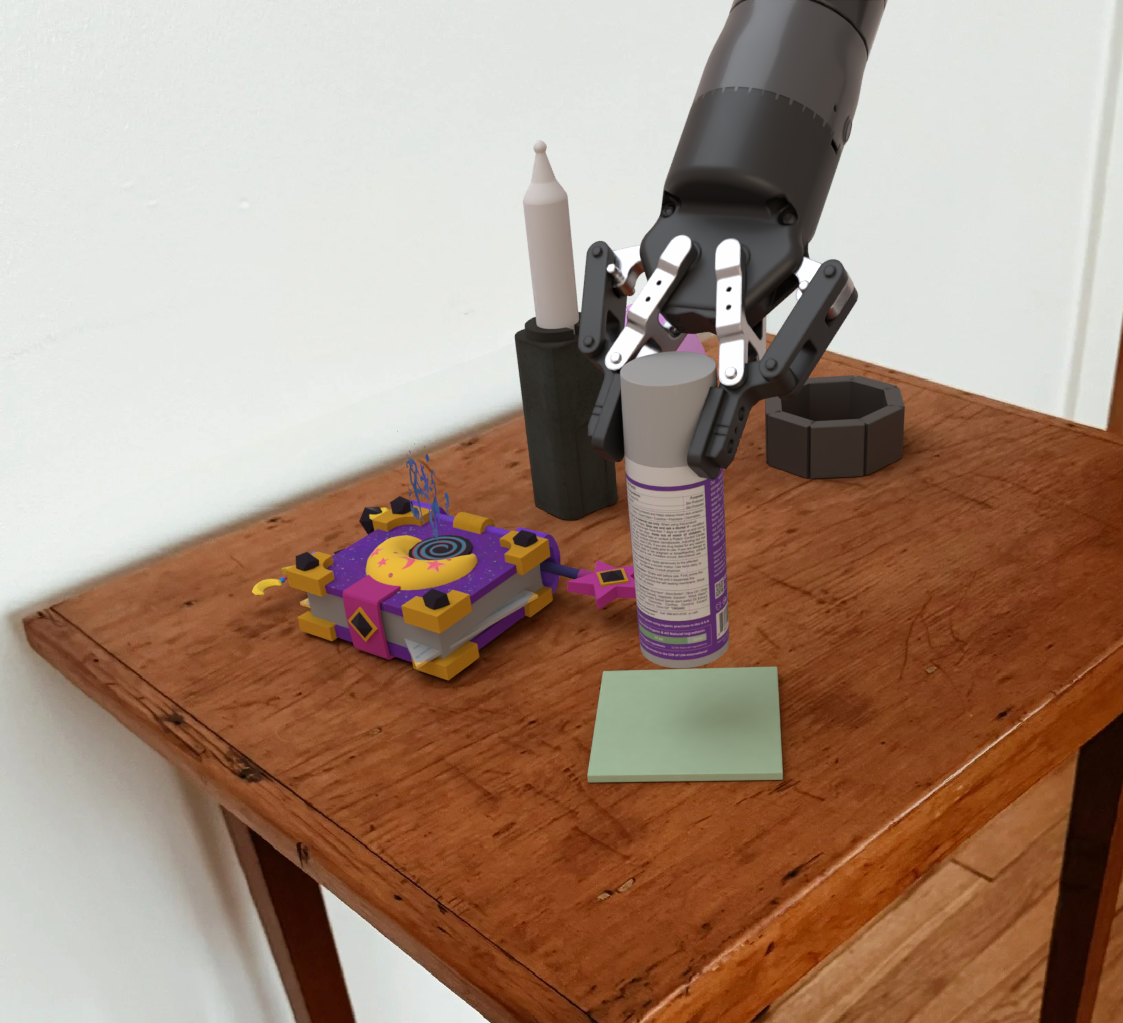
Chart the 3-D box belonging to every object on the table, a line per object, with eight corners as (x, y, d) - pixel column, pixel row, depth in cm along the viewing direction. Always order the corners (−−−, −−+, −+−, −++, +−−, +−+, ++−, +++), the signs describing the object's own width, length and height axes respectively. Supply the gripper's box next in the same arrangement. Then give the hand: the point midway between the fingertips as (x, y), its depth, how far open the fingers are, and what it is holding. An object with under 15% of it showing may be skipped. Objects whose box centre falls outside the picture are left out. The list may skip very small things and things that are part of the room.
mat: (777, 673, 74) (777, 666, 74) (782, 780, 66) (782, 772, 66) (603, 677, 76) (602, 670, 76) (587, 783, 68) (587, 775, 67)
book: (383, 532, 95) (351, 370, 88) (672, 609, 82) (661, 425, 75) (233, 623, 86) (185, 450, 79) (531, 727, 72) (504, 529, 66)
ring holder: (893, 421, 102) (895, 372, 100) (907, 474, 94) (909, 422, 92) (764, 428, 104) (764, 379, 102) (767, 481, 96) (766, 429, 93)
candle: (568, 523, 93) (529, 152, 79) (528, 502, 97) (483, 144, 83) (624, 500, 95) (595, 136, 82) (583, 480, 99) (548, 128, 85)
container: (684, 612, 71) (669, 343, 63) (748, 641, 68) (740, 362, 59) (621, 647, 69) (596, 372, 60) (684, 679, 65) (666, 394, 57)
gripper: (605, 80, 62) (489, 411, 61) (889, 80, 55) (763, 456, 54) (667, 169, 69) (563, 470, 68) (929, 180, 61) (817, 518, 60)
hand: (652, 462), depth 61 cm, fingers closed on container, 4 cm apart
